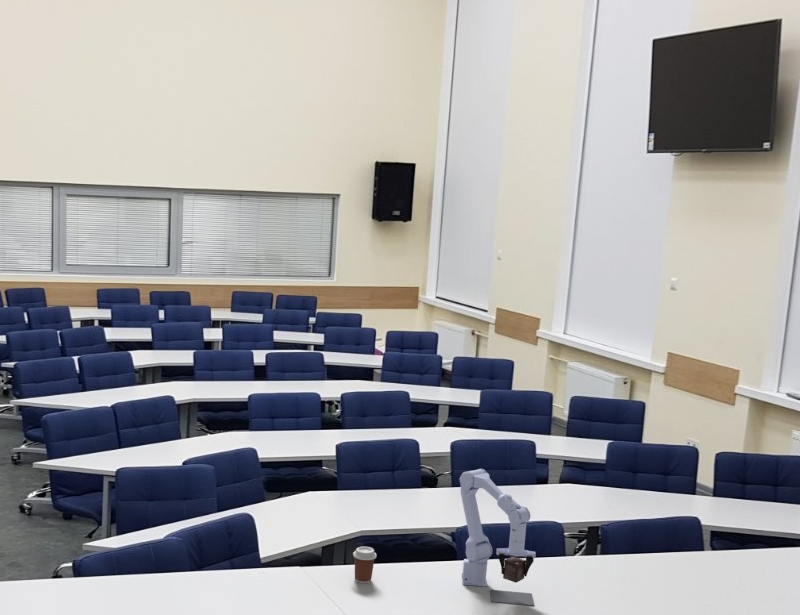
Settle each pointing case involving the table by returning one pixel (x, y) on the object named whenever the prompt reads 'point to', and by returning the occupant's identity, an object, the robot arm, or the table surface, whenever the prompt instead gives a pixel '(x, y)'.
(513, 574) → the box
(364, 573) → the coffee cup
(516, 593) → the desk mat
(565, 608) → the table surface
